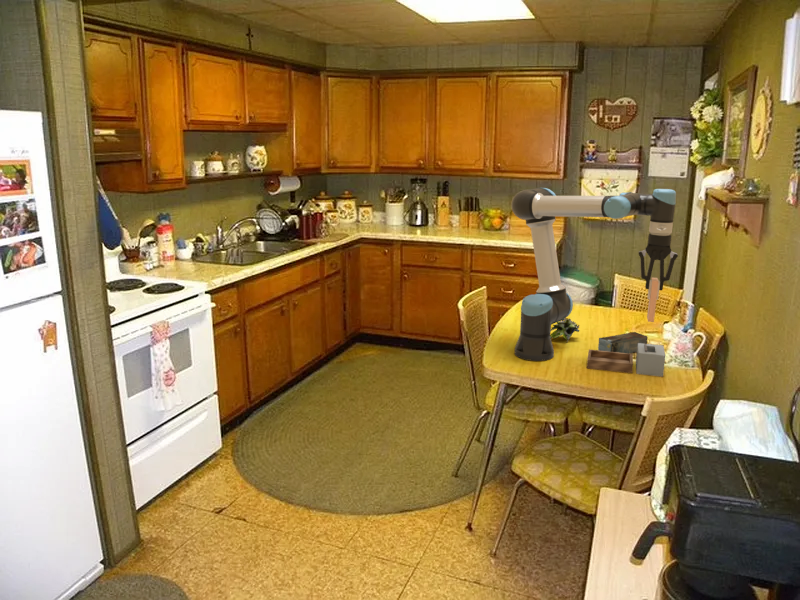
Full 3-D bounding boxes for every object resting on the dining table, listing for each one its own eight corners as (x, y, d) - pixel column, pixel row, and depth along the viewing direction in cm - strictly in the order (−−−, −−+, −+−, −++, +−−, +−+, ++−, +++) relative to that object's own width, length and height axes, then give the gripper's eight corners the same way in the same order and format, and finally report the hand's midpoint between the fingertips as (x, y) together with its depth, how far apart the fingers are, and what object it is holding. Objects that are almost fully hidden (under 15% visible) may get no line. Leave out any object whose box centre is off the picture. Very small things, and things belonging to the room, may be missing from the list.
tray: (586, 368, 240) (587, 359, 239) (588, 357, 251) (588, 349, 250) (632, 373, 235) (633, 364, 235) (631, 362, 246) (632, 353, 246)
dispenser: (636, 373, 235) (638, 351, 233) (635, 362, 246) (637, 341, 244) (663, 376, 232) (665, 354, 230) (661, 365, 243) (663, 343, 241)
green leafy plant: (563, 349, 278) (580, 326, 277) (570, 353, 267) (587, 329, 266) (542, 334, 277) (559, 311, 277) (548, 337, 266) (565, 313, 266)
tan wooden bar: (647, 321, 232) (652, 281, 228) (647, 317, 238) (651, 277, 234) (653, 322, 232) (658, 281, 228) (652, 317, 237) (657, 277, 233)
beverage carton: (596, 351, 260) (597, 335, 258) (633, 345, 267) (634, 330, 265) (610, 357, 253) (611, 341, 251) (647, 351, 260) (649, 335, 258)
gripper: (637, 234, 225) (630, 299, 231) (684, 236, 221) (676, 302, 227) (637, 230, 232) (630, 294, 238) (682, 233, 228) (674, 297, 234)
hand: (652, 298), depth 233 cm, fingers closed on tan wooden bar, 2 cm apart
